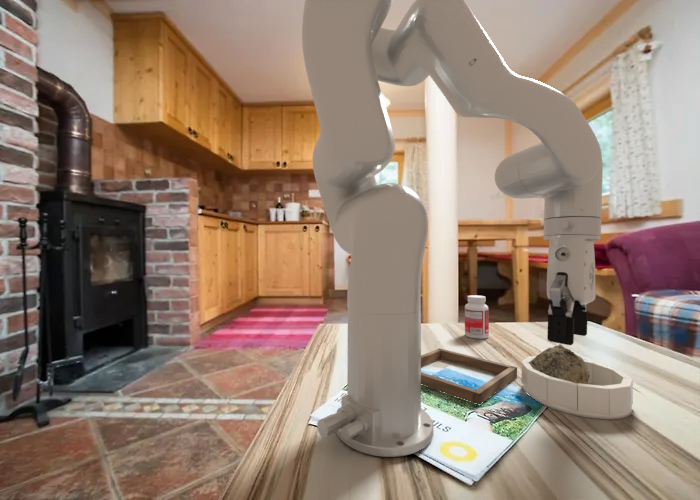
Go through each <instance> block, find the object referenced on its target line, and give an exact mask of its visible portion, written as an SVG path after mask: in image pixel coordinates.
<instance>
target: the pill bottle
mask: <svg viewBox="0 0 700 500" xmlns="http://www.w3.org/2000/svg"><path fill="white" fill-rule="evenodd" d="M486 297H487V296H484V295H477V294H474V295H470V294H469V295H467V303H466V304H465V305H464V335H465V336H466V337H468V338H471V339H477V340H478V339H487V338H489V336H490V334H489V333H490V323H489V321H490V317H489V316H490V315H489V314H490V313H489V312H490V311H489V306H488V305H487V304H486V301H487V300H486V299H487V298H486Z"/></svg>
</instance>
